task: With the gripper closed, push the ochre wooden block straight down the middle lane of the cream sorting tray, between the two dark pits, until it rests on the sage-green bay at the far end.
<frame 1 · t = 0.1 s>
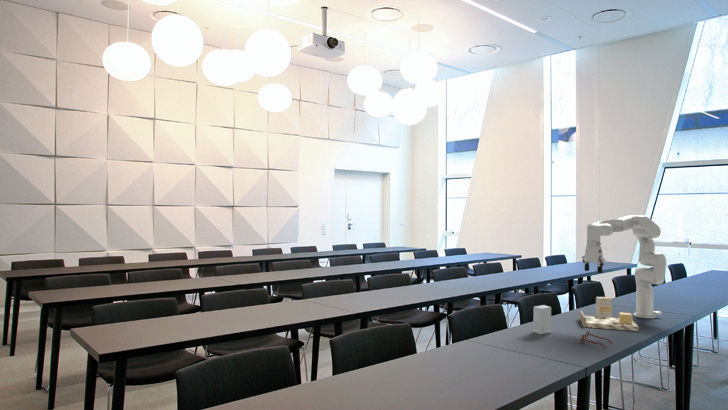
hand: (593, 271, 299), 31 cm above the table, tool pointing down, fingers open, 9 cm apart
cream sorting tray: (608, 325, 293), on the table
supplement box: (603, 318, 312), on the table
skincare box: (542, 332, 275), on the table
glasses: (596, 345, 253), on the table
ochre block: (625, 322, 290), point 2 cm above the table, touching cream sorting tray
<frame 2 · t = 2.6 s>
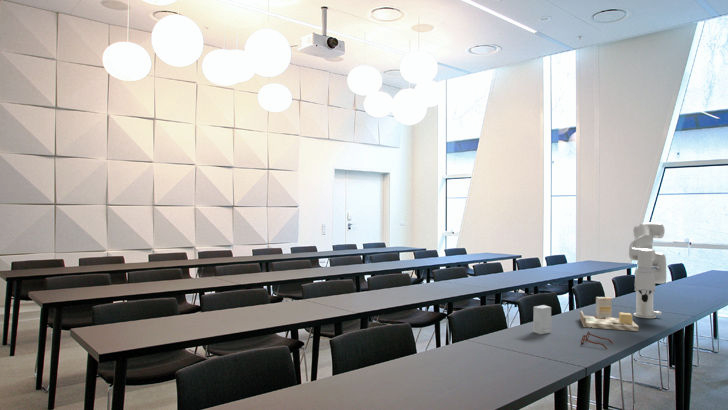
hand: (644, 301, 287), 15 cm above the table, tool pointing down, fingers closed
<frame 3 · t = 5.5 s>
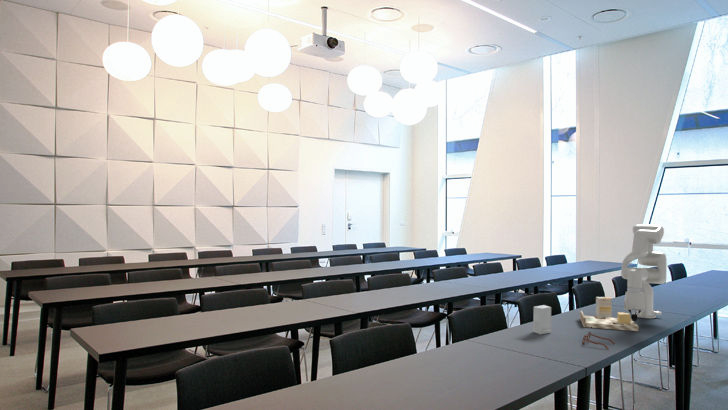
hand: (634, 320, 289), 4 cm above the table, tool pointing down, fingers closed
ochre block: (623, 322, 291), point 3 cm above the table, touching gripper
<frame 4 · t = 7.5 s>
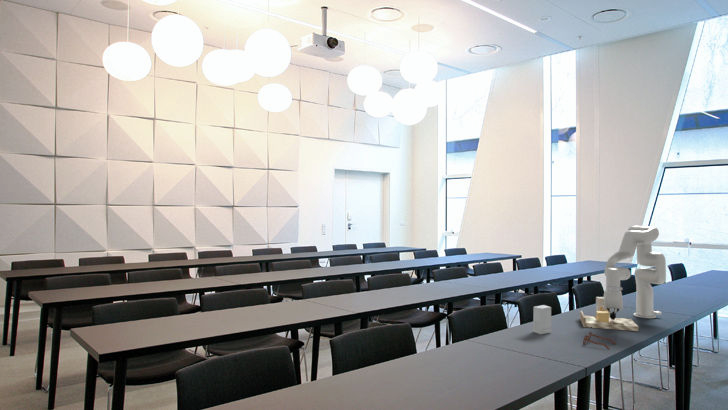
hand: (612, 319, 292), 4 cm above the table, tool pointing down, fingers closed
ochre block: (602, 320, 294), point 3 cm above the table, touching cream sorting tray
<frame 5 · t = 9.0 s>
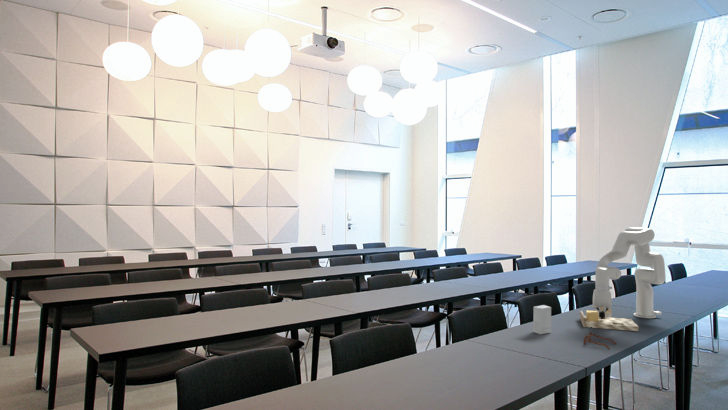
hand: (601, 318, 294), 4 cm above the table, tool pointing down, fingers closed
ochre block: (592, 319, 296), point 2 cm above the table, touching cream sorting tray, gripper
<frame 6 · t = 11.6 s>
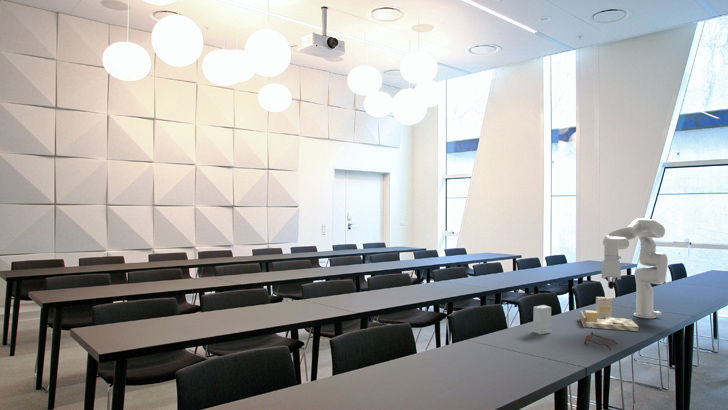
hand: (611, 288, 293), 22 cm above the table, tool pointing down, fingers closed
ochre block: (591, 319, 296), point 2 cm above the table, touching cream sorting tray
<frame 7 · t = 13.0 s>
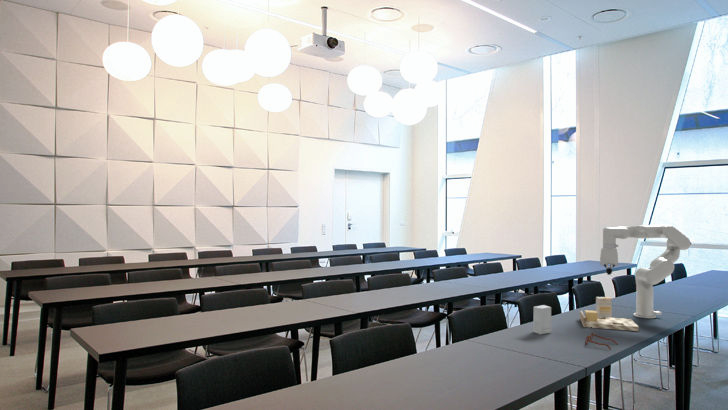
hand: (609, 274, 317), 27 cm above the table, tool pointing down, fingers closed
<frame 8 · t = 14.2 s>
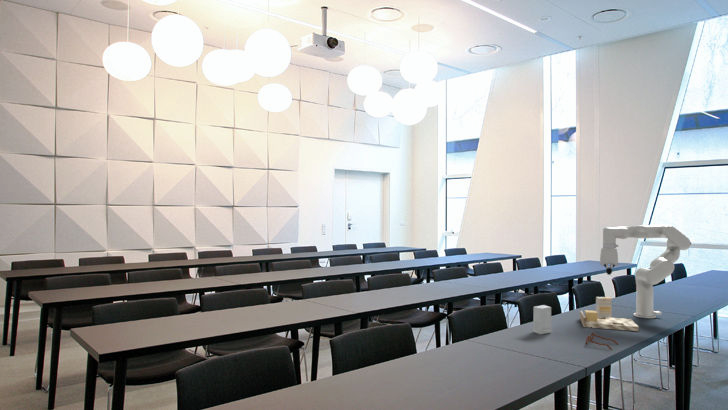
hand: (609, 274, 317), 27 cm above the table, tool pointing down, fingers closed
at the end: ochre block inside the target area on the cream sorting tray (0.6 cm from its centre), point 2.5 cm above the cream sorting tray's base; ochre block tilted 1° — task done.
